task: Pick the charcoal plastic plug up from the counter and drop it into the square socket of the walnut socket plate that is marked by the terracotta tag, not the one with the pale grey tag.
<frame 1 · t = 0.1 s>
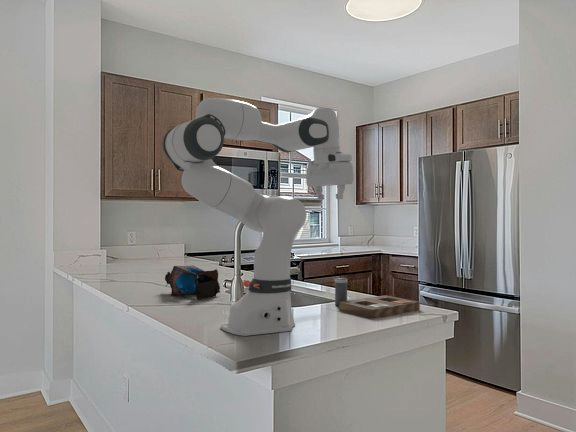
hand: (329, 199, 151), 39 cm above the countertop, tool pointing down, fingers open, 8 cm apart
lantern: (188, 295, 187), on the countertop
socket plate: (379, 310, 160), on the countertop
plug: (341, 305, 168), on the countertop
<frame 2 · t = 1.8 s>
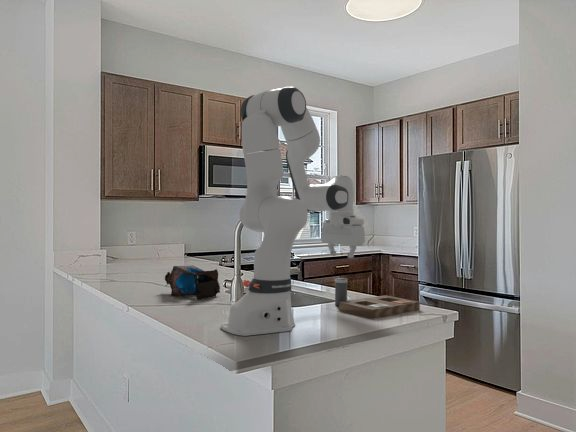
hand: (341, 256, 168), 18 cm above the countertop, tool pointing down, fingers open, 8 cm apart
nothing on the countertop moved.
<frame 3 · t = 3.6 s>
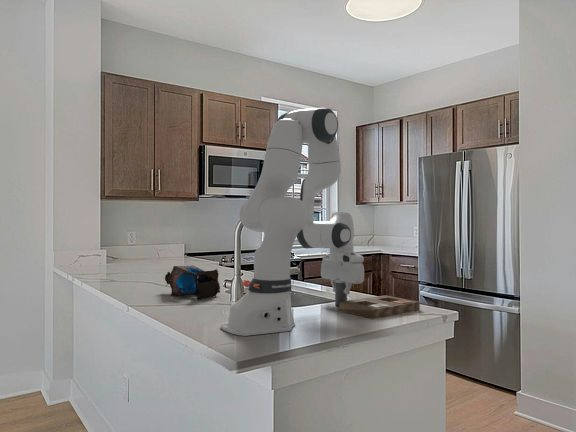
hand: (341, 293, 168), 5 cm above the countertop, tool pointing down, fingers closed on plug, 4 cm apart
plug: (341, 305, 168), on the countertop, touching gripper
everything else where it was.
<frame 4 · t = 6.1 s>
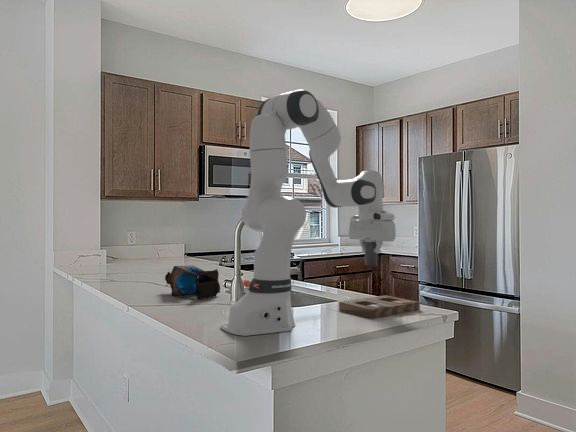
hand: (371, 252, 166), 20 cm above the countertop, tool pointing down, fingers closed on plug, 4 cm apart
plug: (371, 265, 166), point 15 cm above the countertop, touching gripper
everything else where it was.
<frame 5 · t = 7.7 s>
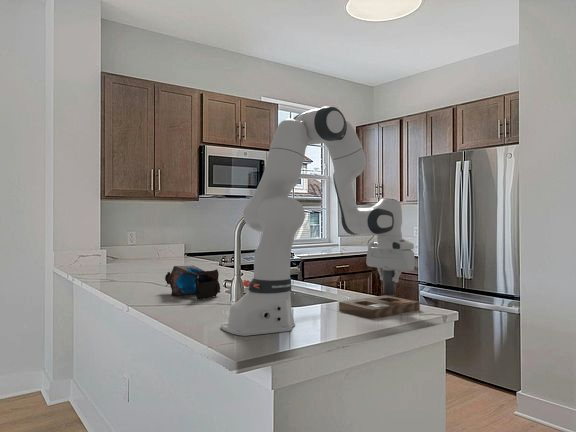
hand: (389, 281, 164), 10 cm above the countertop, tool pointing down, fingers closed on plug, 4 cm apart
plug: (389, 293, 164), point 5 cm above the countertop, touching gripper
everything else where it was.
when the fingers open (6 cm above the countertop, at t = 8.9 s): plug drops 1 cm, resting in socket plate.
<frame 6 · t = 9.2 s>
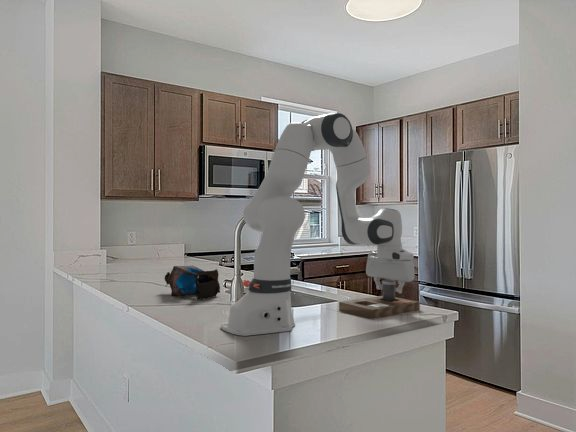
hand: (388, 291, 164), 6 cm above the countertop, tool pointing down, fingers open, 8 cm apart
plug: (388, 307, 164), resting in socket plate
everything else where it was.
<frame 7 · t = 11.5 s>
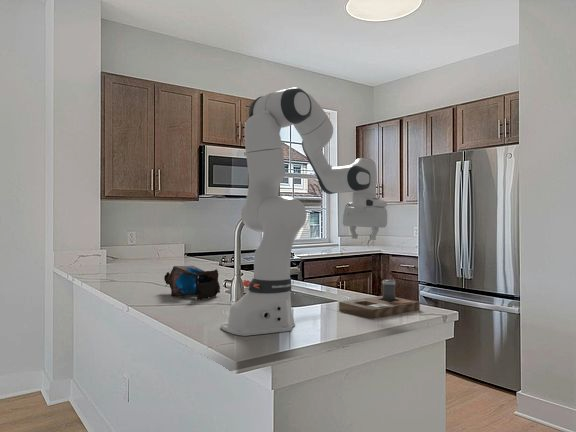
hand: (363, 239, 169), 25 cm above the countertop, tool pointing down, fingers open, 8 cm apart
nothing on the countertop moved.
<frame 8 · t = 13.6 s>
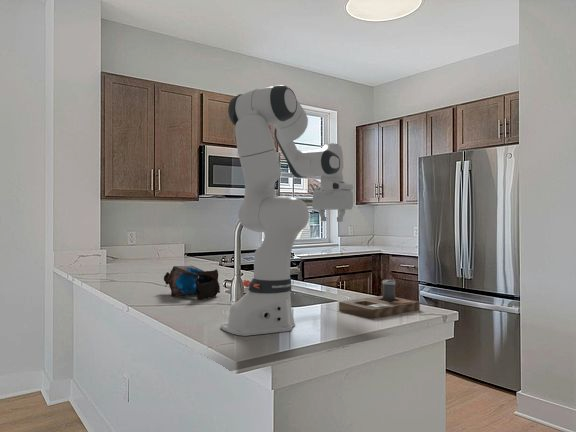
hand: (331, 221, 175), 31 cm above the countertop, tool pointing down, fingers open, 8 cm apart
nothing on the countertop moved.
at the end: plug 0.0 cm from the target spot on the socket plate, point 0.0 cm above the socket plate's base; the gripper is holding nothing; plug tilted 0° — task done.
